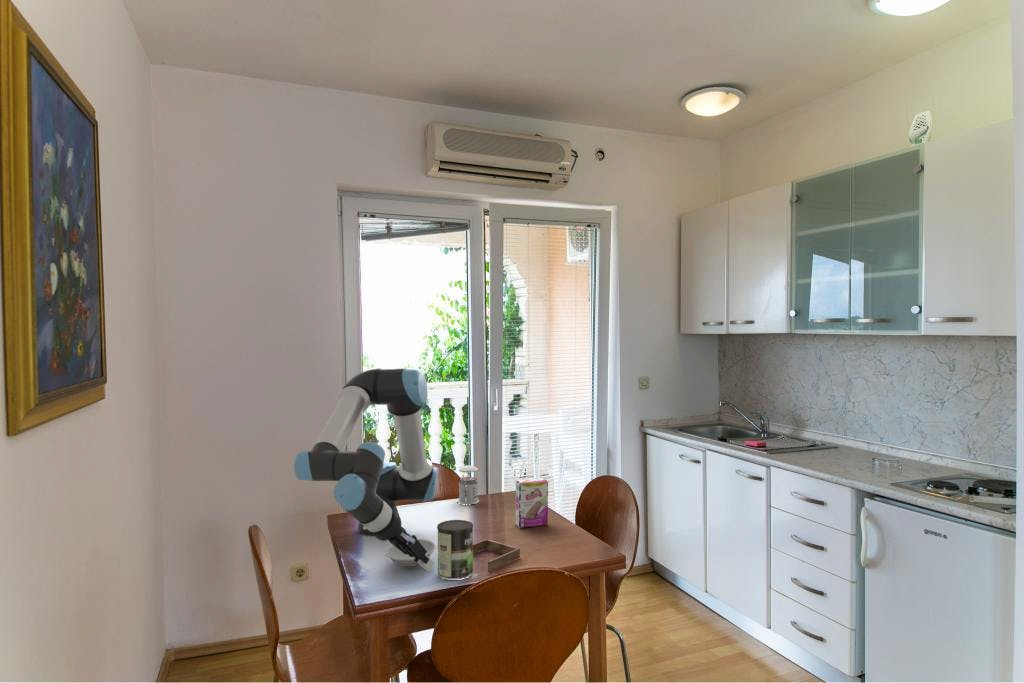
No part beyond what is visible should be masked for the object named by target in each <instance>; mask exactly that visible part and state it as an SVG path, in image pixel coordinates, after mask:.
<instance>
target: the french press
mask: <svg viewBox="0 0 1024 683" xmlns="http://www.w3.org/2000/svg"><path fill="white" fill-rule="evenodd" d="M465 445H466V446H467V463H468V464H467V465H463V466H460V468H458V472H461V473H467V475H466V476H465V475H464V474H462V477H460V478H459V481H458V495H459V496H458V500H457V501H458V503H460V504H465V505H464V506H470V505H469V504H476V503H478V502H479V501H480V500H479V496H478V492H479V489H478V487H479V485H478V484H479V483H478V481H477V480H478V478H477V477H474V476H471V477H470V476H469V474H470V473H473V472H475V473H476V472H477V471H478V470H479V468H478V467H476V466H474V465H470V462H469V458H470V457H469V456H470V454H469V452H470V451H469V449H470V448H469V446H471V442H468V441H467V442H466V443H465ZM460 504H459V505H460ZM466 504H467V505H466ZM476 505H477V504H476Z"/></svg>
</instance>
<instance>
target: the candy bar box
mask: <svg viewBox="0 0 1024 683" xmlns="http://www.w3.org/2000/svg"><path fill="white" fill-rule="evenodd" d="M548 495H549V481H548V480H547V479H545V478H527V479H517V480H515V512H514V513H515V518H514V520H515V521H514V522H515V526H516V527H518V528H519V529H525V528H533V527H535V528H536V527H544V525H546V526H548V520H549V519H548V518H549V517H548V516H549V515H548V514H549V512H548V509H549V506H548V505H549V504H548V503H549V496H548Z"/></svg>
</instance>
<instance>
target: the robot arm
mask: <svg viewBox="0 0 1024 683" xmlns="http://www.w3.org/2000/svg"><path fill="white" fill-rule="evenodd" d="M427 399H428V383H427V379H426V375H425V374H424V372H423V371H422V370H421V369H419V368H413V367H404V368H403V367H399V368H397V367H396V368H395V367H393V368H392V367H390V368H389V367H387V368H386V367H371V368H368V369H366V370H364V371H361V372H359V373H358V374H356V375H354V376H353V377H352V378H351V379H350V380H348V381H347V383H346V384H345V385H344V386H343V387H342V388H341V391H340V392H339V395H338V400H339V401H338V402H337V405H336V406H335V408H334V410H333V412H332V413H331V415H330V417H329V419H328V420H327V422H326V424H325V426H324V428H323V429H322V431H321V433H320V434H319V436H318V438H317V440H316V441H315V444H314V445H313V446H312V448H311V450H309V449H308V450H304V451H303V450H302V451H300V452H298V453H297V455H296V456H295V458H294V459H295V460H294V463H293V464H294V465H293V471H294V474H295V477H296V479H298V480H299V481H308V482H309V481H311V482H337V483H336V484H335V485H334V488H333V491H332V494H333V495H332V496H333V498H334V500H335V501H336V502H337V503H338V504H339V505H340V507H341V508H342V509H343V510H345V512H347V513H348V514H349V515H351V516H352V517H353V518H354V519H355V520H356V521H357V522H358V523H357V532H358V533H359V534H360V535H363V536H366V537H375V538H376V539H377V540H379V541H382V542H385V541H388V542H389V543H390V544H391V545H394V546H395V547H396V548H398V549H399V550H400V551H402V552H403V553H404V554H405V555H407V554H408V555H409V556H410V557H413V559H414V561H415V562H417V563H418V565H420V566H421V567H422V568H423V569H424V570H425V571H427V572H431V570H432V568H433V567H434V564H435V562H434V560H433V559H432V558H431V557H430V556H429V557H428V556H427V555H426V552H427V551H426V550H425V548H424V547H423V546H422V545H421V544H420V542H419V541H418V540H417V539H418V537H417V535H416V534H412V535H411V534H409V533H408V532H407V529H406V528H404V527H403V526H402V520H401V517H400V514H399V510H398V508H397V502H398V501H400V502H430V501H432V500H434V499H435V497H436V493H437V490H438V489H437V488H438V482H439V481H438V480H439V469H438V467H435V466H433V464H432V462H431V460H430V459H429V458H427V453H426V446H425V445H426V444H425V439H424V438H425V437H424V432H423V423H422V417H421V410H422V408H423V407H424V405H425V404H427ZM373 405H378V406H379V405H380V406H381V405H382V406H383V405H384V406H386V408H387V412H388V413H389V414H390V415H392V416H393V421H394V427H395V431H396V437H397V442H398V448H399V454H400V460H401V463H400V465H399V466H398V464H397V463H396V462H394V461H393V462H392V461H387V462H385V456H386V452H385V450H384V448H383V446H381V445H379V444H378V443H377V442H373V441H366V442H364V443H360V444H359V446H358V447H357V449H356V450H354V451H352V450H351V451H350V450H349V451H346V450H344V449H345V448H346V446H347V443H348V442H349V440H350V438H351V435H352V433H353V432H354V429H355V428H356V426H357V423H358V422H359V419H360V418H361V415H362V414H363V412H365V411H367V409H369V408H370V406H373Z"/></svg>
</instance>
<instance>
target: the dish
mask: <svg viewBox="0 0 1024 683" xmlns="http://www.w3.org/2000/svg"><path fill="white" fill-rule="evenodd" d="M417 540H418V541H419V542H420V544H421V545H422V546H423V547H424V548H425V550H426V551H427V552H426V555H427V556H428V557H429V558H430V556H431V555H432V553H434V552H435V550H436V548H437V546H436V543H435V542H433V541H432V540H430V539H424V538H417ZM385 556H386V557H387V558H389V560H391V561H392V562H393V563H395V564H396V565H399V566H401V567H413V566H417V565H419V564H418V563H417V562H415V561H414V559H413V557H410V556H409V555H408V554H407V555H405V554H404V553H403V552H402V551H400V550H399V549H398V548H396V547H395V546H394V545H393V544H391V545H389V546H388V547H387V548H386V550H385Z"/></svg>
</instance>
